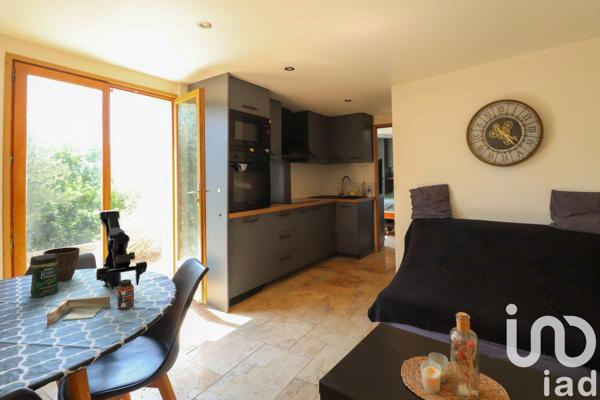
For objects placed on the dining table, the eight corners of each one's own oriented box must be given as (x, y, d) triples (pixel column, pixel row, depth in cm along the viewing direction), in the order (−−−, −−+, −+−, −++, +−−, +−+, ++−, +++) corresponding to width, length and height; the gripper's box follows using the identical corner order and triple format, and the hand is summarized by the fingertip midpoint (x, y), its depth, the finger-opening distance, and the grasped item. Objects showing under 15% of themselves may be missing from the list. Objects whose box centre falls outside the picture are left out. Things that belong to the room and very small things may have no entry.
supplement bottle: (126, 310, 119) (125, 283, 119) (114, 308, 121) (113, 282, 120) (137, 304, 125) (136, 278, 125) (125, 303, 126) (125, 277, 126)
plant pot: (85, 278, 156) (84, 249, 155) (50, 287, 143) (49, 255, 142) (73, 273, 164) (73, 246, 163) (39, 281, 151) (38, 251, 150)
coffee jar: (34, 299, 129) (32, 258, 127) (28, 295, 133) (26, 255, 132) (61, 292, 137) (59, 254, 135) (55, 289, 141) (53, 251, 140)
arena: (66, 308, 120) (66, 299, 120) (110, 304, 125) (109, 295, 124) (47, 324, 107) (46, 313, 107) (96, 319, 111) (96, 309, 111)
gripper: (96, 249, 120) (100, 282, 112) (145, 243, 132) (152, 273, 124) (94, 264, 126) (98, 296, 118) (142, 257, 138) (148, 286, 131)
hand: (125, 287), depth 123 cm, fingers open, 9 cm apart
